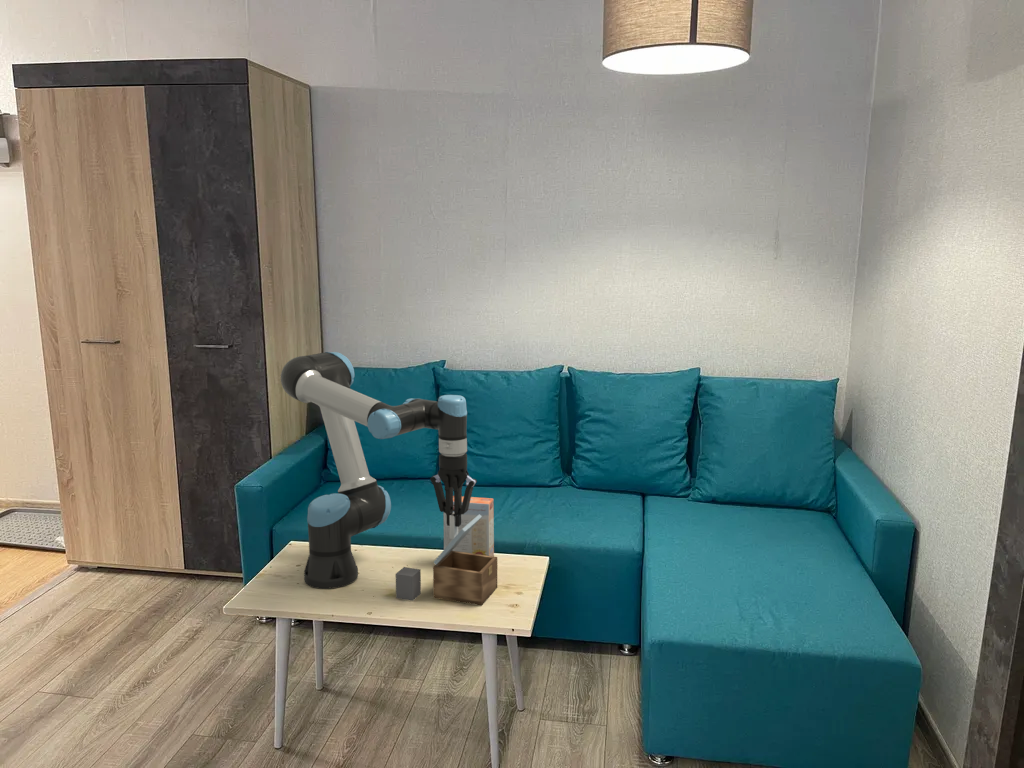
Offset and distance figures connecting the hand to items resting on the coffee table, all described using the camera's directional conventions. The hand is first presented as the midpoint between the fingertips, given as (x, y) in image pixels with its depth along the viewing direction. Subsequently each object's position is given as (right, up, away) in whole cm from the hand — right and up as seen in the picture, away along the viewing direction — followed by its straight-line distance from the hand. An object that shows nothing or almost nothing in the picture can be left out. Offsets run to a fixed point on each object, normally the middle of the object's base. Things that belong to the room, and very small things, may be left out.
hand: (454, 537), depth 218 cm
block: (-12, -16, 0) cm, 20 cm away
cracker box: (+3, -13, +20) cm, 24 cm away
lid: (+1, -1, 0) cm, 2 cm away
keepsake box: (+3, -16, +2) cm, 16 cm away
